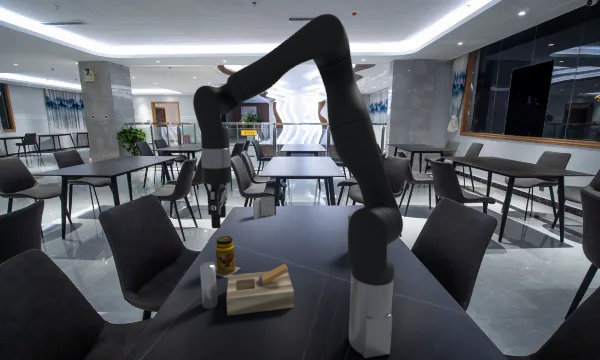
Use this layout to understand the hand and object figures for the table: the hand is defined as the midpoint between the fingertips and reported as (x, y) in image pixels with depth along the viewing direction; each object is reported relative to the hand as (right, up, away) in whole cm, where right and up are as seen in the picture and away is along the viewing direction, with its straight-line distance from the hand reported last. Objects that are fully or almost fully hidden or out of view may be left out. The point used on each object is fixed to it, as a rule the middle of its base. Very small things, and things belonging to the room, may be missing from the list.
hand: (219, 222), depth 80 cm
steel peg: (-3, -23, +1) cm, 24 cm away
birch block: (+11, -23, +4) cm, 26 cm away
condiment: (-4, -20, +20) cm, 29 cm away
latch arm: (+15, -16, +4) cm, 22 cm away
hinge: (+3, -8, +78) cm, 78 cm away
